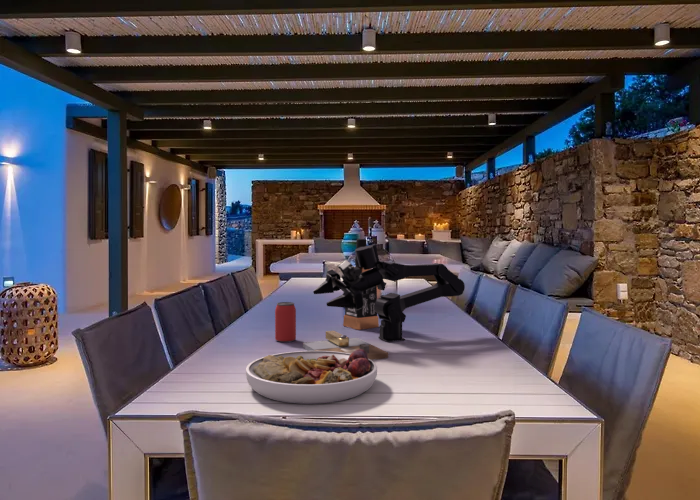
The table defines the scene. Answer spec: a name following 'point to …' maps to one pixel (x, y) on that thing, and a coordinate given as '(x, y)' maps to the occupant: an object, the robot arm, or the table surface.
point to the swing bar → (337, 338)
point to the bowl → (312, 376)
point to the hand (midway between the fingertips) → (320, 298)
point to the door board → (370, 349)
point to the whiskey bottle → (367, 313)
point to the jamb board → (331, 344)
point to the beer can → (285, 322)
